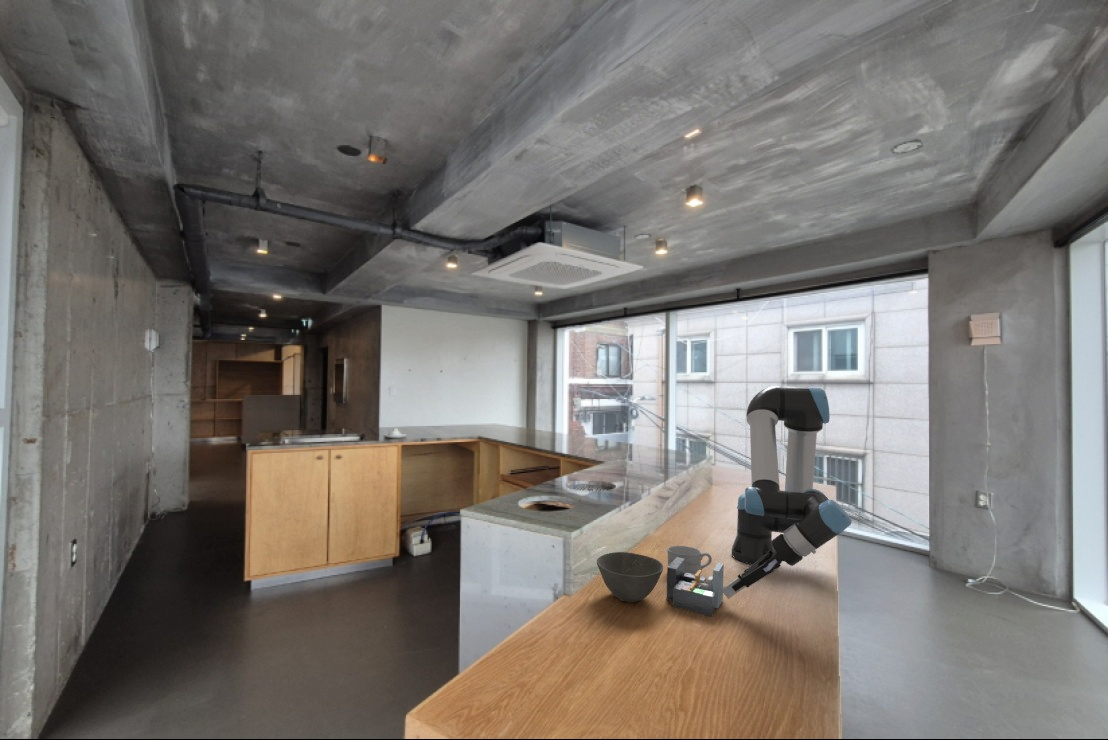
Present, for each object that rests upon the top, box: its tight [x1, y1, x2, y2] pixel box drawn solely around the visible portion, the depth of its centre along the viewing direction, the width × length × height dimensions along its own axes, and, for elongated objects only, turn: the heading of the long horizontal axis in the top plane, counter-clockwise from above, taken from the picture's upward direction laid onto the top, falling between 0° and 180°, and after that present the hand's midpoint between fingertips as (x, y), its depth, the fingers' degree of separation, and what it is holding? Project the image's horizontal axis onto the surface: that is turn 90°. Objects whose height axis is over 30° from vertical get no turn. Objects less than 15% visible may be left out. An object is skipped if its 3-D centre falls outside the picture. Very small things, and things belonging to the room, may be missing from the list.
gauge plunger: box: [691, 562, 724, 609], centre depth 133 cm, size 7×8×10 cm
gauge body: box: [666, 557, 716, 618], centre depth 133 cm, size 14×13×9 cm
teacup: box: [666, 545, 713, 574], centre depth 153 cm, size 14×11×8 cm
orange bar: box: [690, 569, 703, 590], centre depth 132 cm, size 11×1×2 cm, turn 150°
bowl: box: [596, 551, 664, 603], centre depth 134 cm, size 19×19×10 cm
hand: (725, 593), depth 131 cm, fingers closed
